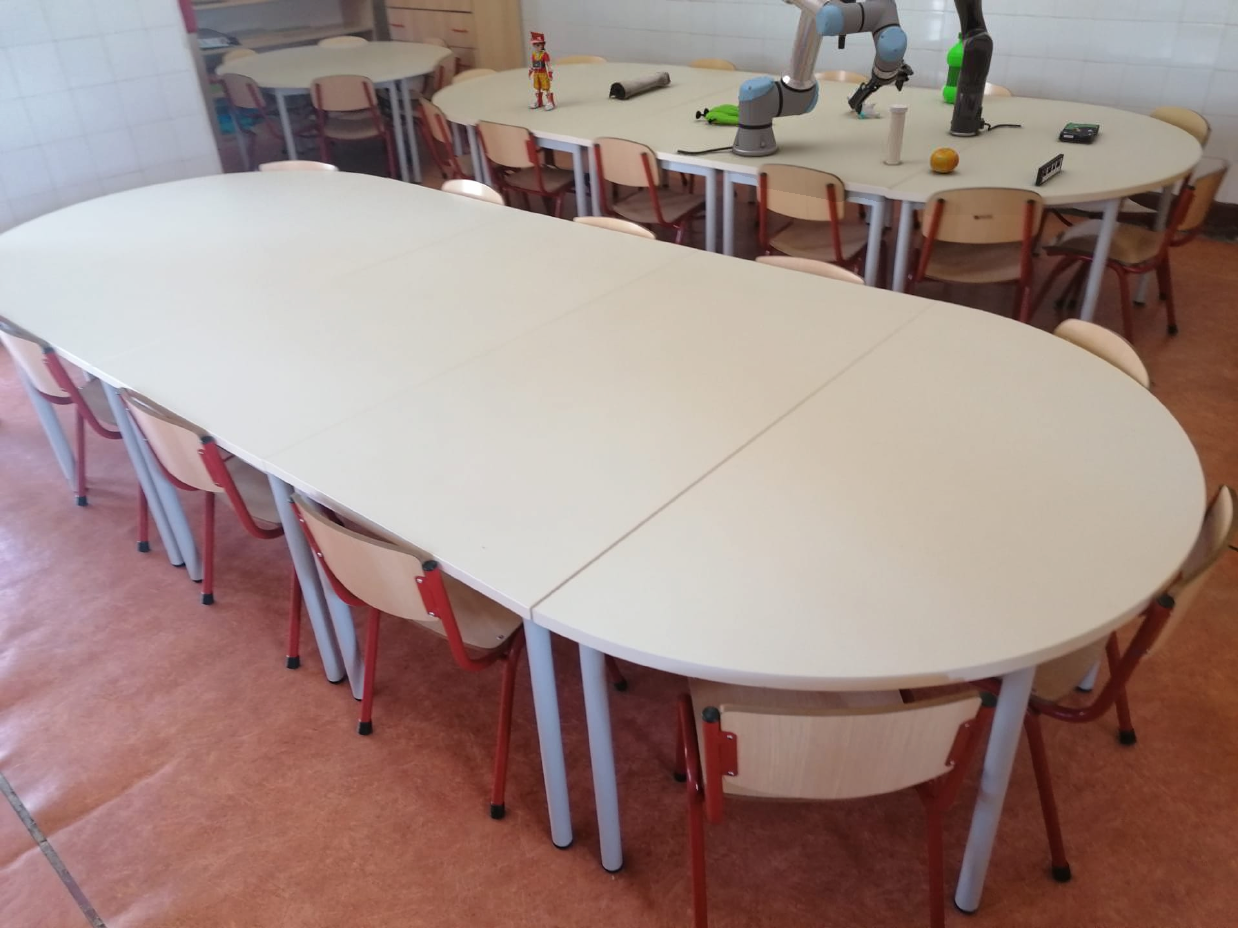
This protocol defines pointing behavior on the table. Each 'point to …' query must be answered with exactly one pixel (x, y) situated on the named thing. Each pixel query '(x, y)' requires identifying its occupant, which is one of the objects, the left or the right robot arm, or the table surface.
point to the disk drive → (1079, 132)
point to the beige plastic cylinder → (895, 138)
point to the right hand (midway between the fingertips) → (841, 46)
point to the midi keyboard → (1049, 169)
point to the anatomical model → (865, 108)
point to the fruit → (944, 160)
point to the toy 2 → (721, 114)
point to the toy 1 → (541, 71)
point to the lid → (899, 108)
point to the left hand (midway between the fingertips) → (877, 99)
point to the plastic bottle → (953, 70)
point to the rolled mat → (638, 84)
